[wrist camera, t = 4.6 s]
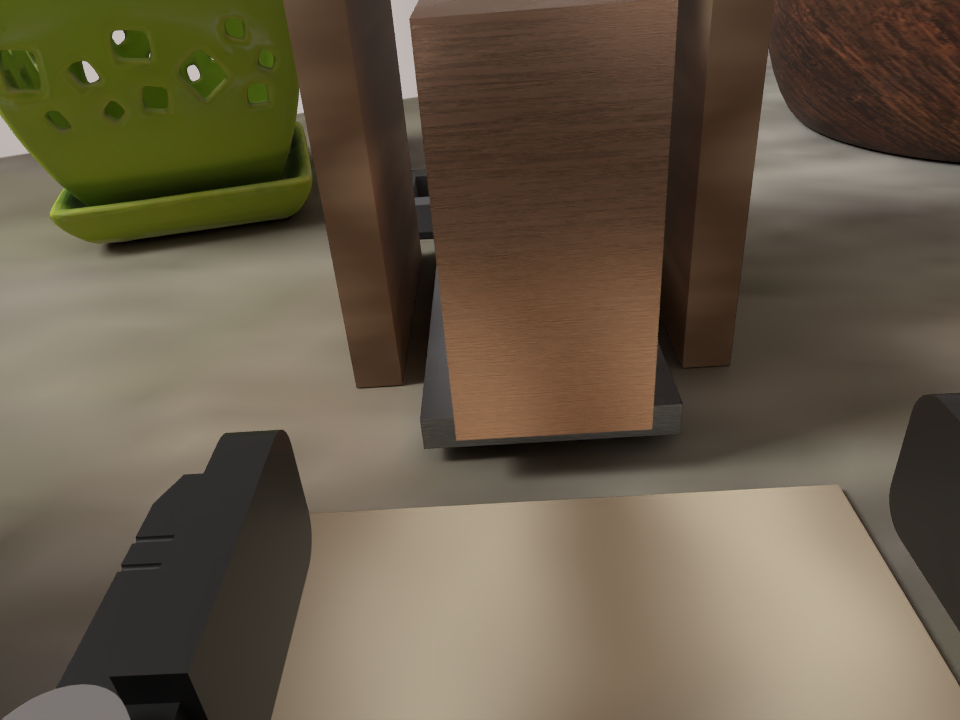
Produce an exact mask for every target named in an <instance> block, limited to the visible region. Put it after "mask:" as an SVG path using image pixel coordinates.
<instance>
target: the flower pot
mask: <svg viewBox="0 0 960 720" xmlns="http://www.w3.org/2000/svg"><path fill="white" fill-rule="evenodd" d="M116 30H123V31H124V33H125V40H124V41H123V42H122V43H121V44H119V45H117V44H116V43H115V42H114V40H113V39H112V33H113V32H114V31H116ZM149 54H150V58H149ZM211 58H213V59H214V60H212V59H211ZM82 61H86V62H88V63H89V64H90V65H91V66H92V67H93V68H94V69H95V71H96V73H97V74H98V76H99V80H97V81H96V82H93V83H89V82H88V81H87V79H86V76H85V73H84V69H83V65H82ZM190 65H195V66H196V67H197V68H198V70H199V72H200V79H198V80H196V81H194V82H193V81H191V80H190V78H189V76H188V73H187V68H188V66H190ZM298 97H299V83H298V77H297V72H296V67H295V62H294V56H293V51H292V46H291V41H290V35H289V30H288V25H287V20H286V14H285V9H284V4H283V0H0V115H1V116H2V118H3V119H4V121H5V122H6V123H7V125H8V126H9V127H10V129H11V130H12V131H13V133H14V134H15V136H16V137H17V138H18V139H19V141H20V142H21V143H22V144H23V145H24V147H25V148H26V149H27V150H28V152H29V153H30V154H31V155H32V156H33V157H34V158H35V160H36V161H37V162H38V163H39V164H40V165H41V166H42V167H43V168H44V169H45V170H46V171H47V172H48V173H49V174H50V175H51V176H52V177H53V178H54V179H55V180H56V181H57V182H58V183H59V184H61V185H62V186H63V187H64V189H63V190H62V192H61V193H60V195H59V196H58V198H57V200H56V202H55V203H54V205H53V207H52V209H51V212H50V218H51V220H52V221H53V222H54V223H55V224H56V225H57V226H58V227H60V228H61V229H62V230H64V231H66V232H67V233H69V234H71V235H73V236H75V237H78V238H80V239H83V240H85V241H88V242H92V243H97V244H101V243H114V242H128V241H132V240H136V239H143V238H150V237H158V236H165V235H172V234H179V233H186V232H193V231H200V230H207V229H214V228H221V227H227V226H234V225H241V224H247V223H254V222H261V221H267V220H274V219H275V220H282V219H287V218H289V217H291V215H294V214H295V213H296V212H297V211H299V210H300V209H301V208H302V206H303V205H304V203H305V202H306V200H307V198H308V196H309V194H310V191H311V188H312V169H311V163H310V157H309V152H308V147H307V142H306V137H305V133H304V130H303V127H302V125H301V124H300V123H299V122H296V115H297V106H298Z"/></svg>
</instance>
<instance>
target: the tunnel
mask: <svg viewBox="0 0 960 720" xmlns="http://www.w3.org/2000/svg"><path fill="white" fill-rule="evenodd" d="M283 4H284V9H285V14H286V20H287V25H288V30H289V35H290V41H291V46H292V51H293V56H294V62H295V67H296V72H297V77H298V83H299V88H300V93H301V98H302V104H303V109H304V114H305V119H306V125H307V130H308V135H309V140H310V146H311V151H312V156H313V161H314V167H315V172H316V177H317V182H318V188H319V193H320V198H321V203H322V209H323V214H324V219H325V224H326V230H327V235H328V240H329V245H330V251H331V256H332V261H333V266H334V272H335V277H336V282H337V287H338V293H339V298H340V303H341V308H342V314H343V319H344V324H345V329H346V335H347V340H348V345H349V350H350V356H351V361H352V366H353V372H354V377H355V382H356V387H357V388H361V387H377V386H393V385H403V378H404V372H405V365H406V358H407V352H408V345H409V338H410V332H411V325H412V318H413V312H414V305H415V298H416V291H417V285H418V278H419V271H420V265H421V258H422V255H421V246H420V238H419V230H418V222H417V214H416V205H415V197H414V189H413V181H412V173H411V164H410V156H409V148H408V140H407V132H406V123H405V115H404V107H403V99H402V91H401V83H400V74H399V66H398V58H397V50H396V42H395V33H394V25H393V18H392V9H391V1H390V0H283ZM773 7H774V0H678V15H677V32H676V48H675V65H674V81H673V97H672V114H671V130H670V146H669V163H668V179H667V196H666V212H665V228H664V245H663V261H662V278H661V294H660V310H659V314H660V316H661V318H662V321H663V323H664V325H665V328H666V330H667V333H668V335H669V337H670V340H671V342H672V344H673V347H674V349H675V351H676V354H677V356H678V359H679V361H680V363H681V366H682V368H688V367H704V366H721V365H730V359H731V351H732V343H733V335H734V326H735V318H736V310H737V302H738V294H739V285H740V277H741V269H742V261H743V253H744V244H745V236H746V228H747V220H748V212H749V203H750V195H751V187H752V179H753V171H754V162H755V154H756V146H757V138H758V130H759V121H760V113H761V105H762V97H763V89H764V81H765V72H766V64H767V56H768V48H769V40H770V31H771V23H772V15H773Z"/></svg>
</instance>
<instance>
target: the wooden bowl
mask: <svg viewBox="0 0 960 720" xmlns="http://www.w3.org/2000/svg"><path fill="white" fill-rule="evenodd" d="M769 53H770V57H771V62H772V67H773V71H774V74H775V77H776V80H777V83H778V86H779V89H780V92H781V94H782V96H783V98H784V100H785V102H786V104H787V106H788V108H789V109H790V110H791V112H792V113H793V114H794V115H795V116H796V117H797V118H798V119H799V120H800V121H801V122H802V123H803V124H804V125H806V126H807V127H809V128H811V129H813V130H814V131H816V132H818V133H821V134H823V135H825V136H828V137H831V138H833V139H836V140H839V141H842V142H846V143H849V144H852V145H856V146H860V147H864V148H868V149H873V150H878V151H882V152H887V153H893V154H898V155H904V156H911V157H918V158H924V159H933V160H941V161H951V162H960V0H774V7H773V15H772V23H771V31H770V40H769Z"/></svg>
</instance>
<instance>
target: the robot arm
mask: <svg viewBox="0 0 960 720" xmlns="http://www.w3.org/2000/svg"><path fill="white" fill-rule="evenodd" d="M889 504H890V512H891V517H892V521H893V524H894V527H895V529H896V532H897V534H898V536H899V537H900V539H901V541H902V542H903V544H904V545H905V547H906V549H907V550H908V552H909V553H910V555H911V556H912V558H913V559H914V561H915V563H916V564H917V566H918V567H919V569H920V570H921V572H922V574H923V575H924V577H925V578H926V580H927V581H928V583H929V584H930V586H931V588H932V589H933V591H934V592H935V594H936V595H937V597H938V599H939V600H940V602H941V603H942V605H943V606H944V608H945V609H946V611H947V613H948V614H949V616H950V617H951V619H952V620H953V622H954V624H955V625H956V627H957V628H958V630H959V631H960V393H946V394H929V395H924V396H922V397H920V398H919V399H918V400H917V402H916V403H915V405H914V407H913V410H912V413H911V416H910V420H909V423H908V427H907V430H906V434H905V437H904V441H903V444H902V448H901V451H900V455H899V458H898V462H897V465H896V469H895V473H894V476H893V480H892V483H891V487H890V494H889ZM311 550H312V530H311V521H310V516H309V511H308V508H307V504H306V500H305V496H304V492H303V488H302V484H301V480H300V476H299V473H298V469H297V465H296V461H295V457H294V453H293V449H292V445H291V442H290V439H289V437H288V435H287V433H286V432H285V431H284V430H270V431H253V432H235V433H225V434H224V435H223V436H222V437H221V438H220V440H219V442H218V444H217V446H216V448H215V450H214V452H213V454H212V457H211V459H210V461H209V463H208V465H207V467H206V469H205V472H204V474H187V475H183V476H182V477H181V478H180V479H179V480H178V481H177V482H176V483H175V484H174V485H173V486H172V487H171V488H169V489H168V490H167V491H166V492H165V493H164V494H163V495H162V496H161V497H160V498H159V499H158V500H157V501H156V502H155V503H154V504H153V505H152V507H151V509H150V511H149V513H148V515H147V517H146V519H145V521H144V522H143V524H142V526H141V528H140V530H139V532H138V534H137V536H136V544H132V545H131V547H130V549H129V551H128V553H127V555H126V557H125V559H124V561H123V562H122V564H121V566H122V570H121V572H117V574H116V576H115V578H114V580H113V582H112V583H111V585H110V587H109V589H108V591H107V593H106V595H105V597H104V599H103V601H102V602H101V604H100V606H99V608H98V610H97V612H96V614H95V616H94V618H93V620H92V622H91V623H90V625H89V627H88V629H87V631H86V633H85V635H84V637H83V639H82V641H81V643H80V644H79V646H78V648H77V650H76V652H75V654H74V656H73V658H72V660H71V662H70V663H69V665H68V667H67V669H66V671H65V673H64V675H63V677H62V679H61V681H60V682H59V684H58V686H57V687H56V689H54V690H52V691H49V692H46V693H43V694H41V695H39V696H37V697H35V698H33V699H31V700H29V701H27V702H26V703H24V704H22V705H21V706H19V707H18V708H16V709H15V710H13V711H12V712H11V713H9V714H8V715H7V716H5V717H4V718H3V719H2V720H271V717H272V713H273V709H274V705H275V701H276V697H277V693H278V689H279V685H280V681H281V677H282V673H283V669H284V665H285V661H286V657H287V653H288V649H289V645H290V641H291V637H292V633H293V629H294V625H295V621H296V617H297V613H298V609H299V605H300V601H301V597H302V593H303V589H304V585H305V581H306V577H307V573H308V569H309V565H310V559H311Z"/></svg>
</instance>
